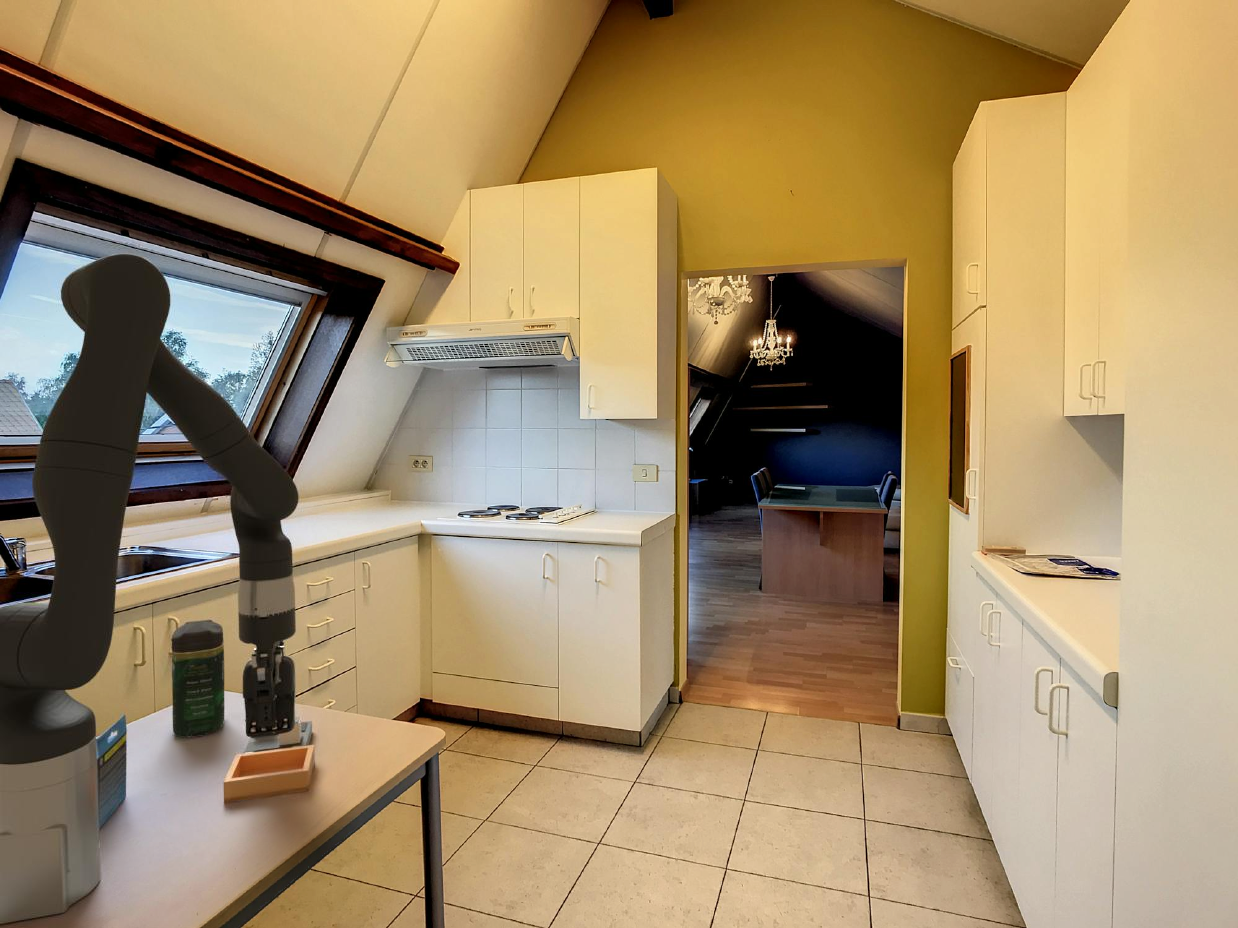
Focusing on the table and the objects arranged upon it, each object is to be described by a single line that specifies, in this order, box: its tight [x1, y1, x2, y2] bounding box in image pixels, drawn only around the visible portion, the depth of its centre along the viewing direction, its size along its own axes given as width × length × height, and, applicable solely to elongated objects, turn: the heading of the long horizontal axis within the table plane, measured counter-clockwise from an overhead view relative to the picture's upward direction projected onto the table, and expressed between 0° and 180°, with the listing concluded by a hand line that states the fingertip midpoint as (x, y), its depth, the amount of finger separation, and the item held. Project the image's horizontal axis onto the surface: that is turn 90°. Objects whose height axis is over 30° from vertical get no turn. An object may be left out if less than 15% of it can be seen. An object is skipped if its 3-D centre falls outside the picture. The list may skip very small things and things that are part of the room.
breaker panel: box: [242, 720, 313, 754], centre depth 113 cm, size 12×9×2 cm
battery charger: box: [242, 654, 297, 738], centre depth 103 cm, size 7×4×11 cm, turn 110°
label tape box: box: [96, 713, 128, 830], centre depth 94 cm, size 9×4×12 cm, turn 15°
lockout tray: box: [222, 744, 315, 804], centre depth 103 cm, size 9×11×3 cm
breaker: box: [279, 716, 302, 745], centre depth 112 cm, size 2×3×3 cm
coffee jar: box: [170, 619, 226, 738], centre depth 121 cm, size 10×8×19 cm
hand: (269, 718), depth 103 cm, fingers closed on battery charger, 3 cm apart
